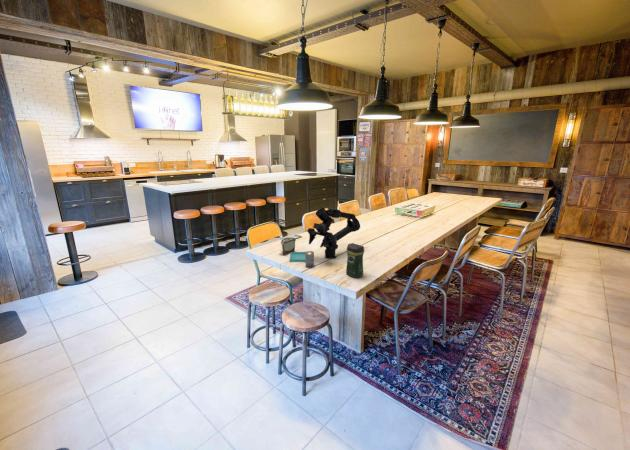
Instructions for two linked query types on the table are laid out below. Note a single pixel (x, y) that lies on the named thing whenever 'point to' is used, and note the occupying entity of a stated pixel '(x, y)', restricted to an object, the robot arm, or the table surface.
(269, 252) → the table surface
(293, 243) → the food container
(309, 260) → the grey tin
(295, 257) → the teal tray
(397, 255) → the table surface
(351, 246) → the coffee jar
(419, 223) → the table surface
